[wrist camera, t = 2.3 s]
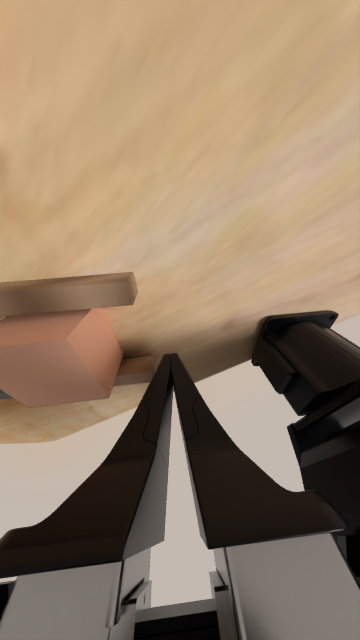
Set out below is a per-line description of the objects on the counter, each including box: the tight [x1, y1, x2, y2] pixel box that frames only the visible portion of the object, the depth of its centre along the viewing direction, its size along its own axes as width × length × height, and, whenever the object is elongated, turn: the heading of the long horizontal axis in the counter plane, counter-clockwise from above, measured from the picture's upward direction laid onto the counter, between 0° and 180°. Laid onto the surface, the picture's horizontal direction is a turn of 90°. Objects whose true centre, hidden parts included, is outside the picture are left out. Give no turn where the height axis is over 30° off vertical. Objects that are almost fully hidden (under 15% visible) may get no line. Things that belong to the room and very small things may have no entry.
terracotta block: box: [0, 308, 123, 408], centre depth 11 cm, size 6×6×4 cm
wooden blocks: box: [0, 272, 156, 386], centre depth 12 cm, size 11×10×2 cm
